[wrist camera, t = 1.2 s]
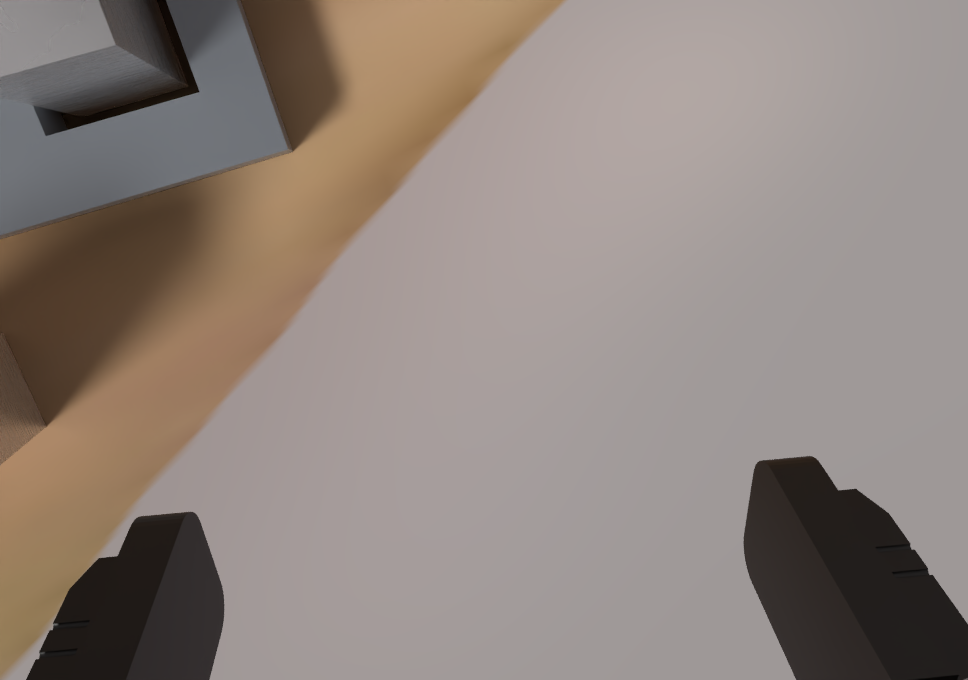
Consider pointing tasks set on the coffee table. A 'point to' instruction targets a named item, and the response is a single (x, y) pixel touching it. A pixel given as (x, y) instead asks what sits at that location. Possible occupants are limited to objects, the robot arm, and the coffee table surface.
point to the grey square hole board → (145, 131)
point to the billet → (15, 406)
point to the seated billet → (85, 54)
